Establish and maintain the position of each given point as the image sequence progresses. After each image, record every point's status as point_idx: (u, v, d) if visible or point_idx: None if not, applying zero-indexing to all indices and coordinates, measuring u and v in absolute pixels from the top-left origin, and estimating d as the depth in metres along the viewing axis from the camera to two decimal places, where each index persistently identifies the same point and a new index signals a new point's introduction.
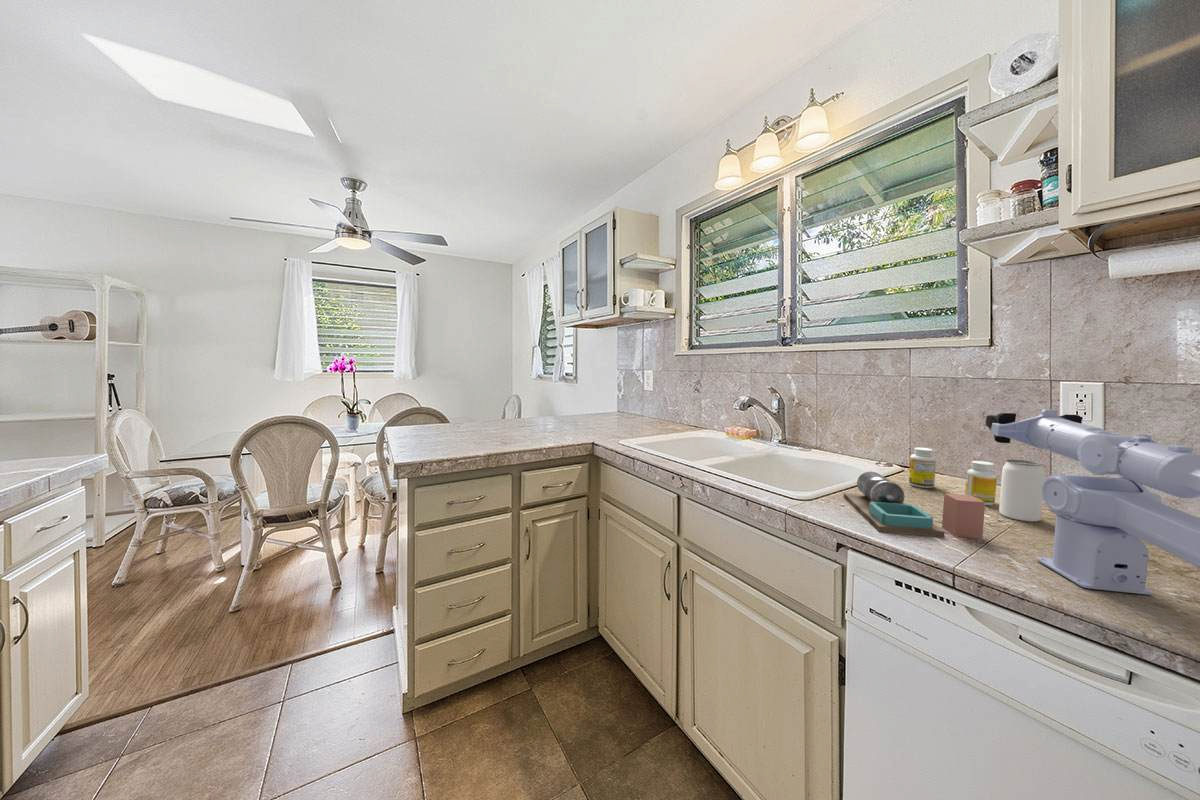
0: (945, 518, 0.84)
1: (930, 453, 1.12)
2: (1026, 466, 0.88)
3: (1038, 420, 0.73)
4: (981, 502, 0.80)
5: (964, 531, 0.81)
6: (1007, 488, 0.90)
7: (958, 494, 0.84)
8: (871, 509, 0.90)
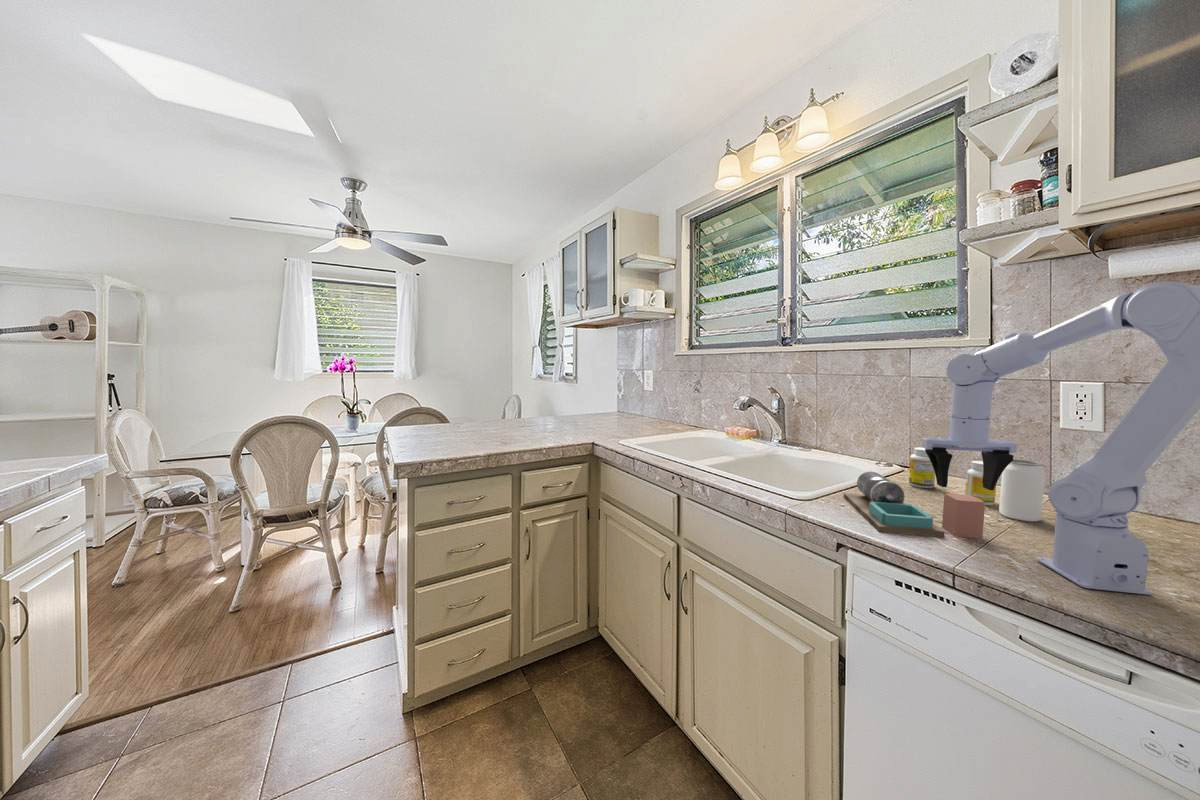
0: (945, 518, 0.84)
1: None
2: (1026, 466, 0.88)
3: None
4: (981, 502, 0.80)
5: (964, 531, 0.81)
6: (1007, 488, 0.90)
7: (958, 494, 0.84)
8: (871, 509, 0.90)
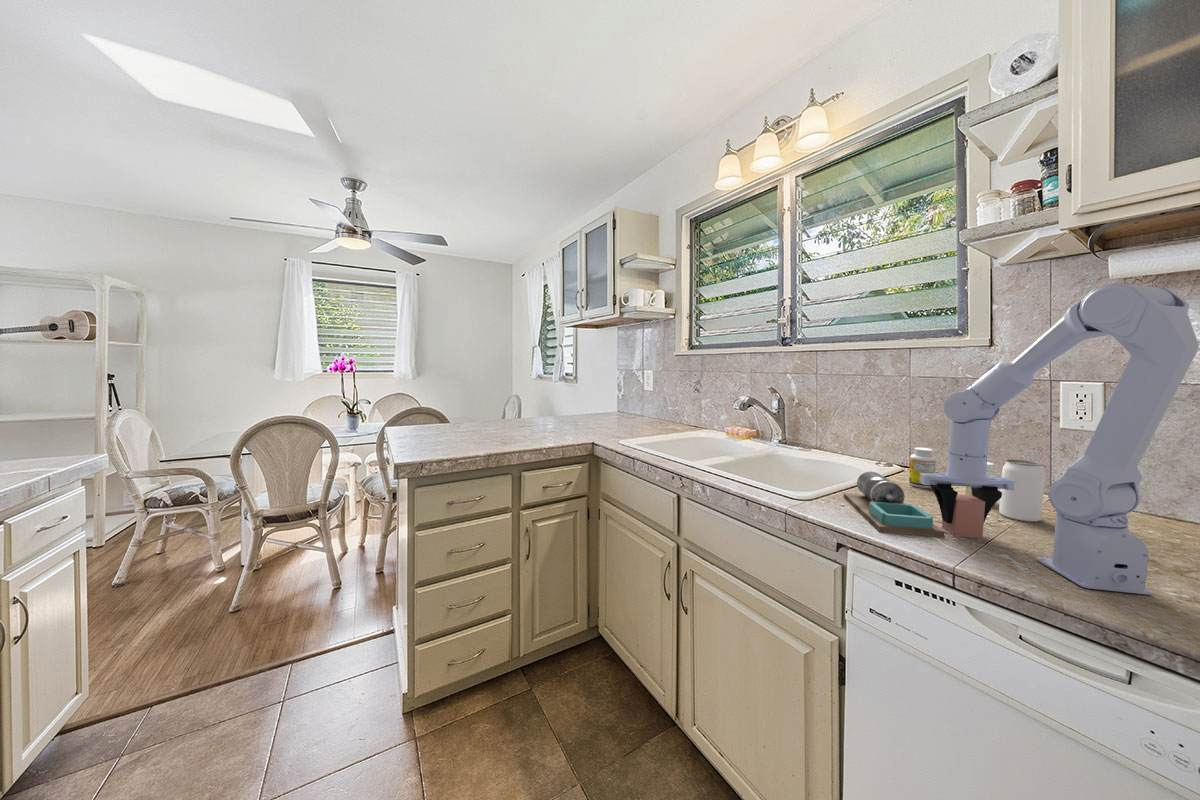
0: None
1: (930, 453, 1.12)
2: (1026, 466, 0.88)
3: None
4: (981, 502, 0.80)
5: (964, 531, 0.81)
6: None
7: (958, 494, 0.84)
8: (871, 509, 0.90)
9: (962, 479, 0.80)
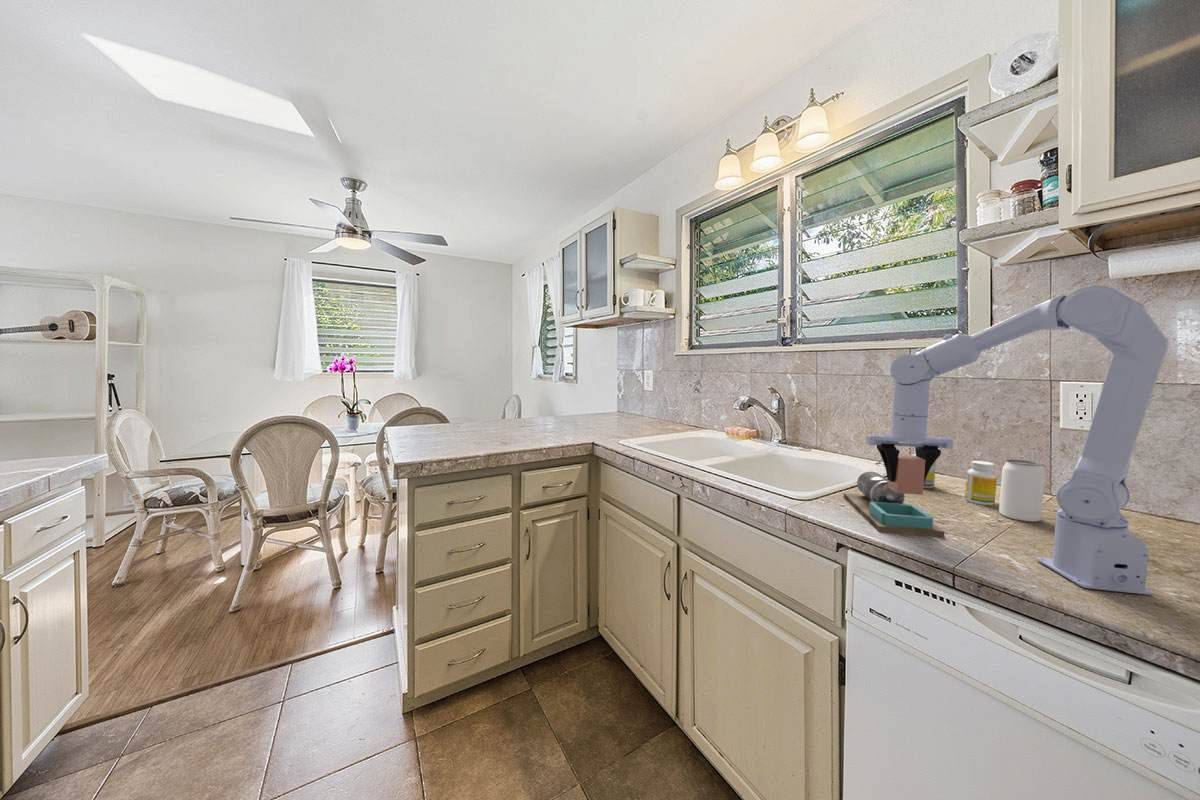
0: None
1: None
2: (1026, 466, 0.88)
3: None
4: (921, 460, 0.83)
5: (905, 488, 0.84)
6: (1007, 488, 0.90)
7: None
8: (871, 509, 0.90)
9: (903, 438, 0.83)
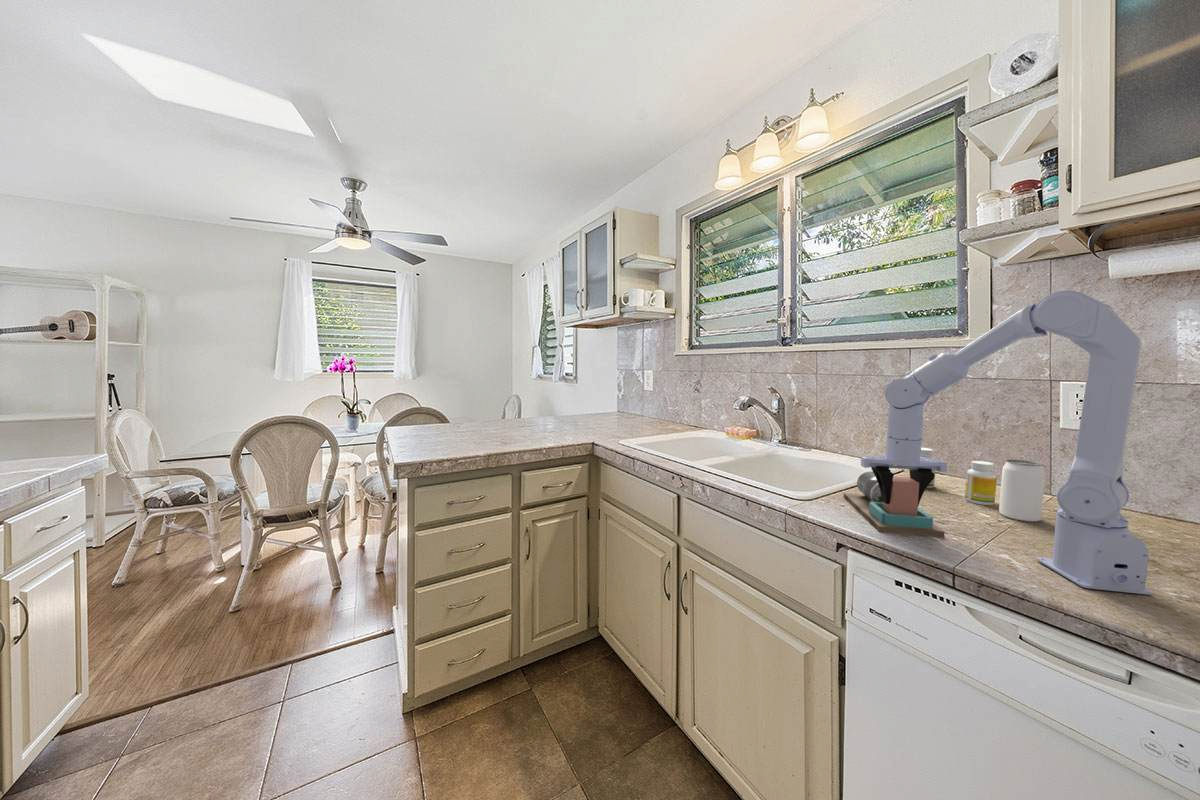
0: None
1: (930, 453, 1.12)
2: (1026, 466, 0.88)
3: None
4: (915, 483, 0.84)
5: (900, 511, 0.85)
6: (1007, 488, 0.90)
7: (897, 476, 0.88)
8: (871, 509, 0.90)
9: (898, 461, 0.84)
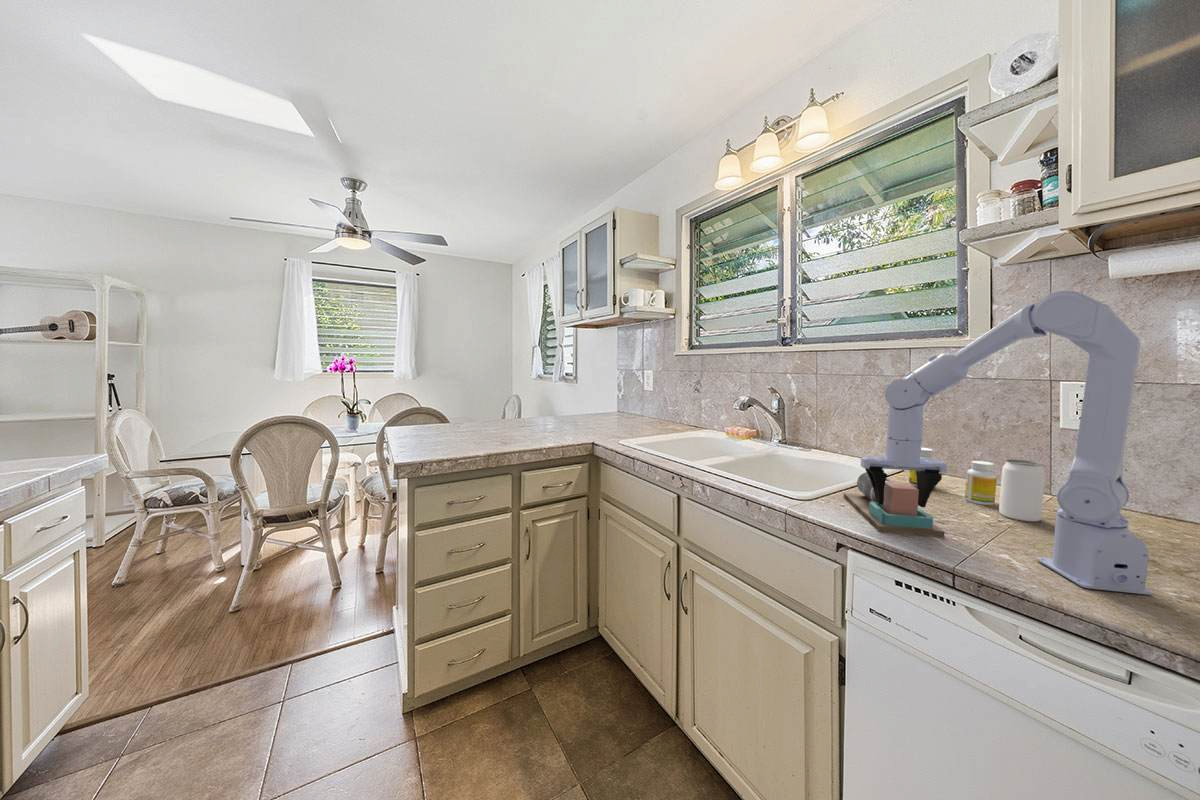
0: (884, 505, 0.88)
1: (930, 453, 1.12)
2: (1026, 466, 0.88)
3: None
4: (915, 489, 0.84)
5: None
6: (1007, 488, 0.90)
7: None
8: (871, 509, 0.90)
9: (898, 462, 0.84)
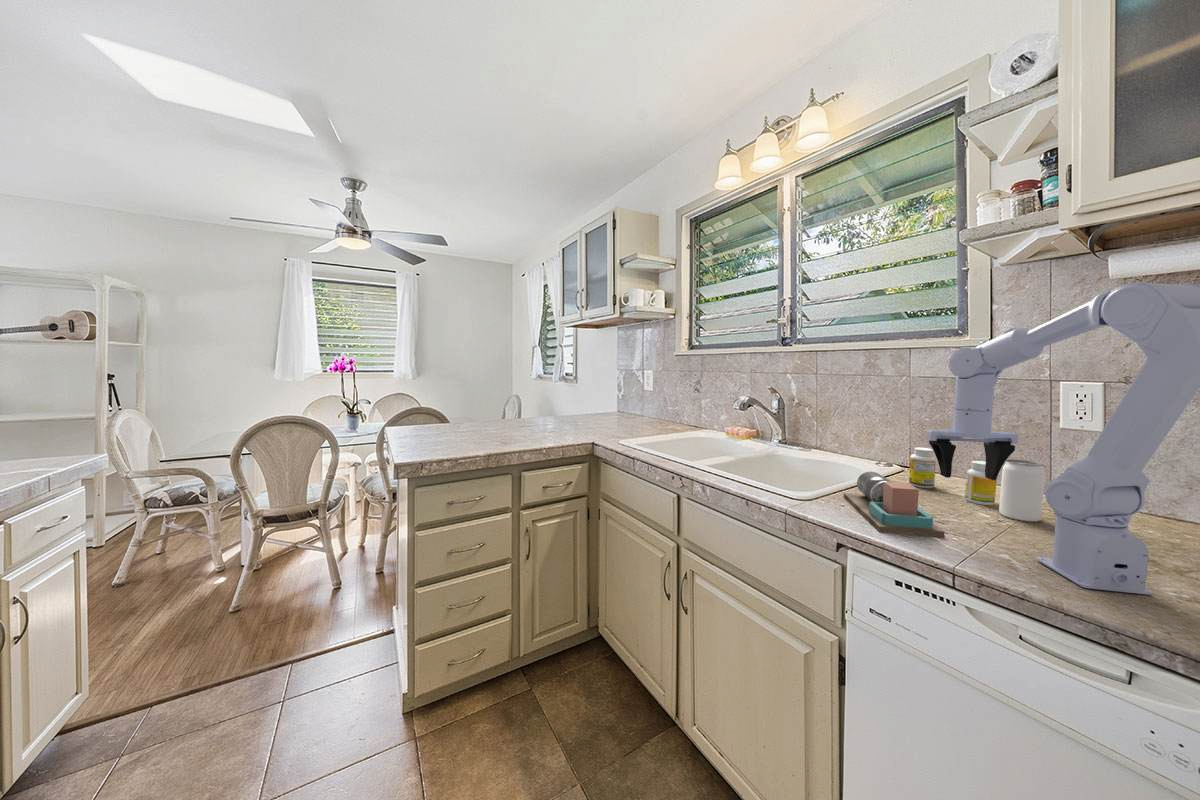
0: (884, 505, 0.88)
1: (930, 453, 1.12)
2: (1026, 466, 0.88)
3: None
4: (915, 489, 0.84)
5: None
6: (1007, 488, 0.90)
7: None
8: (871, 509, 0.90)
9: (968, 433, 0.81)
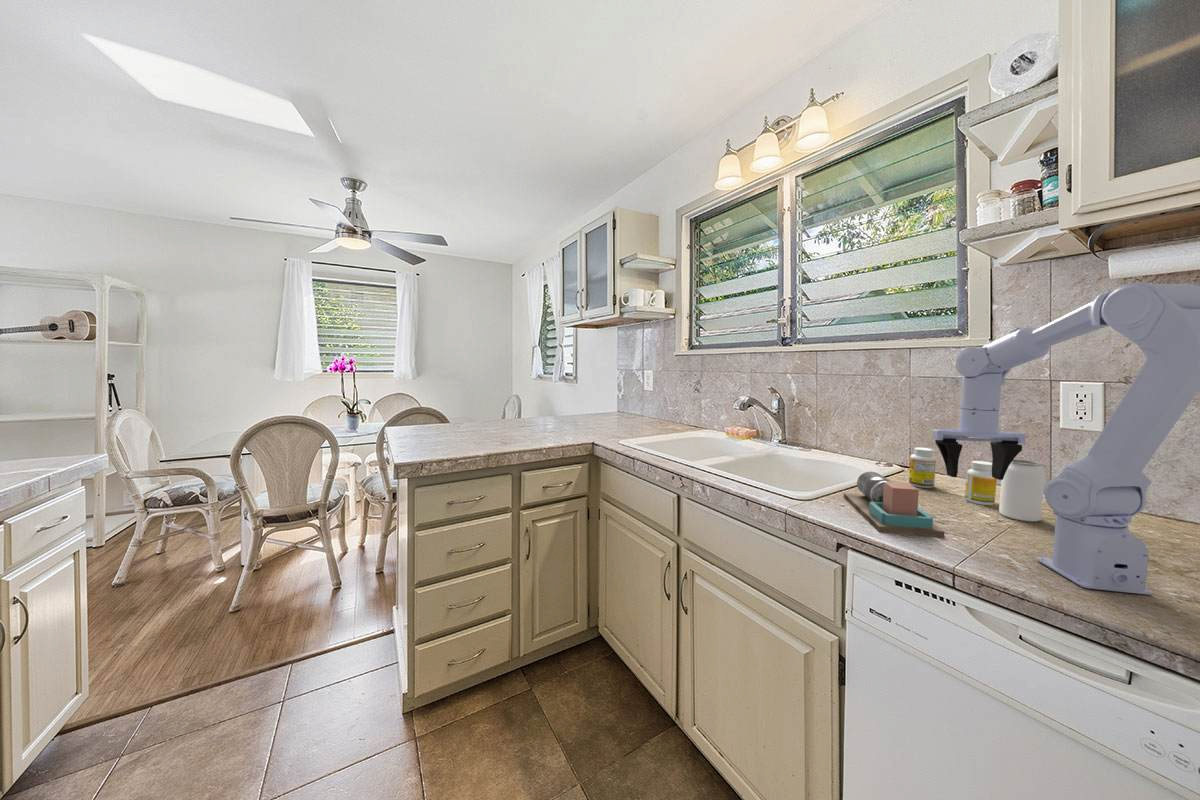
0: (884, 505, 0.88)
1: (930, 453, 1.12)
2: (1026, 466, 0.88)
3: None
4: (915, 489, 0.84)
5: None
6: (1007, 488, 0.90)
7: None
8: (871, 509, 0.90)
9: (974, 433, 0.81)
